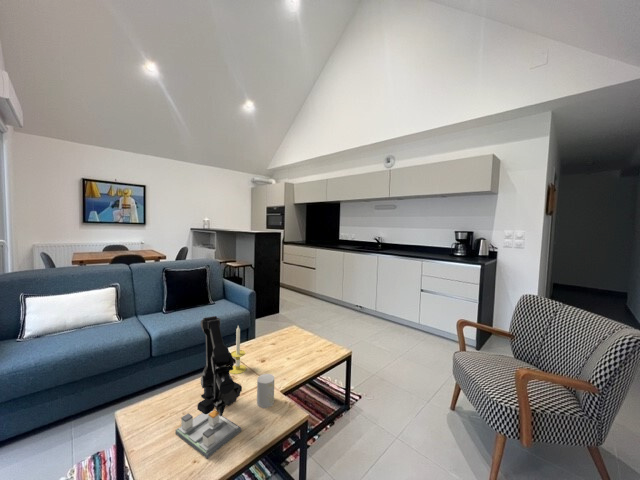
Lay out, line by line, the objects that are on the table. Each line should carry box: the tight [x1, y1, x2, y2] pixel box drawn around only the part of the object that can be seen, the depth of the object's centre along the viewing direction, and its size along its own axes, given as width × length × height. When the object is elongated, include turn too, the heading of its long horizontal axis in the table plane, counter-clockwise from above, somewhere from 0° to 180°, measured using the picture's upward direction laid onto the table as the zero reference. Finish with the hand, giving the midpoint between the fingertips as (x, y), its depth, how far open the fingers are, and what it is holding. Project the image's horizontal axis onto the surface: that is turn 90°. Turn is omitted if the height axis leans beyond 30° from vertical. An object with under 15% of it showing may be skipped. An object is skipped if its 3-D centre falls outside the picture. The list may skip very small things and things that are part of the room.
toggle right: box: [203, 428, 215, 447], centre depth 102 cm, size 3×3×4 cm
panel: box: [175, 409, 242, 459], centre depth 110 cm, size 21×16×2 cm
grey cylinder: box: [256, 373, 275, 409], centre depth 129 cm, size 8×8×12 cm
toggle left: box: [180, 413, 194, 430], centre depth 110 cm, size 3×3×4 cm
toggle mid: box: [208, 409, 219, 426], centre depth 112 cm, size 3×3×4 cm
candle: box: [229, 325, 247, 375], centre depth 157 cm, size 10×10×27 cm
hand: (220, 415), depth 115 cm, fingers closed
